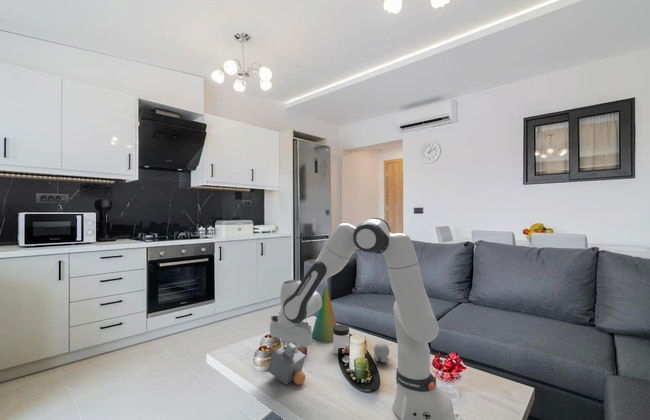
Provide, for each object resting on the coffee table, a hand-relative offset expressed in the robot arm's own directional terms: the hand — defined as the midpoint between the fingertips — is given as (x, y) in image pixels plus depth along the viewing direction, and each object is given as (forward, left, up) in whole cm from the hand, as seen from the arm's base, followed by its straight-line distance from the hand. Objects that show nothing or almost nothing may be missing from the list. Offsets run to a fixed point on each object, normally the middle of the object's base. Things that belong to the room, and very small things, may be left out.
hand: (290, 351), depth 128 cm
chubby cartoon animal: (-26, -37, -12) cm, 47 cm away
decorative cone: (+11, -45, -12) cm, 48 cm away
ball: (-5, 0, -10) cm, 11 cm away
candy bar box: (+13, -20, -12) cm, 27 cm away
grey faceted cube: (+3, 0, -10) cm, 10 cm away
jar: (-5, -34, -12) cm, 37 cm away
